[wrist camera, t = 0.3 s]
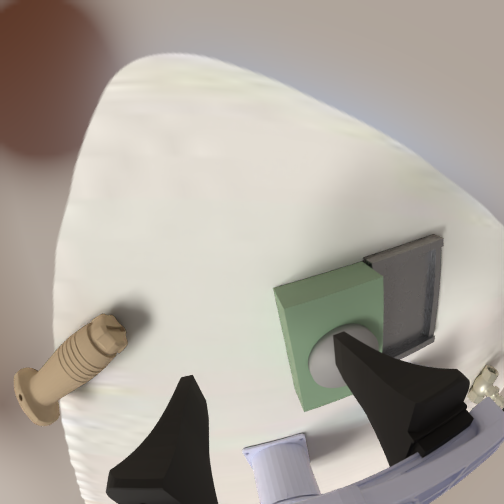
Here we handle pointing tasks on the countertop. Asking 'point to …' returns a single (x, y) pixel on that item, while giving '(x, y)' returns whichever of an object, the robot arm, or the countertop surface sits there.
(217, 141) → the countertop surface
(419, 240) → the gray rectangular tray
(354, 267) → the green block with dome
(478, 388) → the valve
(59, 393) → the handle
